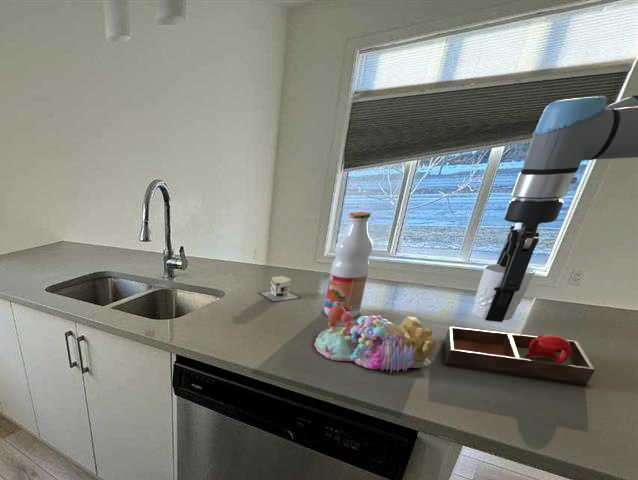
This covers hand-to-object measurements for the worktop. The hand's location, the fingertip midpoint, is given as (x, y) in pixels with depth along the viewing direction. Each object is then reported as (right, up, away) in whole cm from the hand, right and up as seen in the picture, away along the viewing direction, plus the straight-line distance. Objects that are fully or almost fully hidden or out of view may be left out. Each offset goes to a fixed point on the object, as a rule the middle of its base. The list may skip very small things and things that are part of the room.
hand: (491, 314), depth 87 cm
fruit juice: (-15, +6, +33) cm, 37 cm away
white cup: (0, 0, 0) cm, 0 cm away
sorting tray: (+5, -10, +2) cm, 12 cm away
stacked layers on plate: (-26, +15, +52) cm, 60 cm away
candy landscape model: (-19, -7, +12) cm, 24 cm away
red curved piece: (+10, -11, -1) cm, 15 cm away
